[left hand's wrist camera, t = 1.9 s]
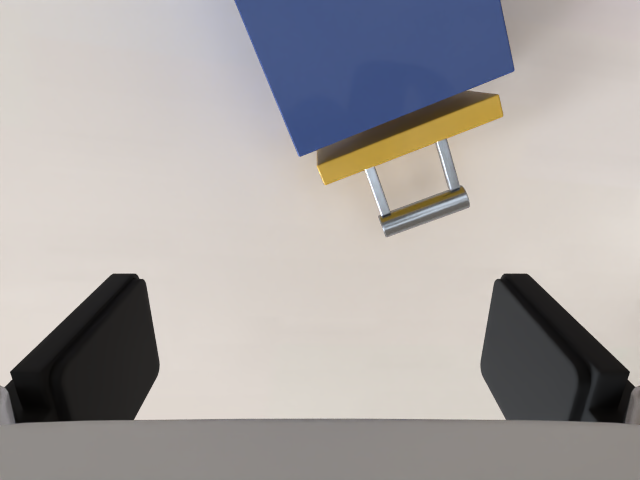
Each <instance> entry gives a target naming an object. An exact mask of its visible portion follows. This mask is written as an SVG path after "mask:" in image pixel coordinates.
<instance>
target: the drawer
mask: <svg viewBox="0 0 640 480" xmlns="http://www.w3.org/2000/svg"><path fill="white" fill-rule="evenodd" d="M501 117H503V111H502V107H501V102H500V98H499V95H498V94H491V93H482V92H473V91H464V92H461V93H459V94H456V95H454V96H451V97H449V98H446V99H444V100H441V101H439V102H436V103H434V104H431V105H429V106H426V107H424V108H421V109H419V110H416V111H414V112H411V113H409V114H406V115H404V116H401V117H399V118H396V119H393V120H391V121H388V122H386V123H383V124H381V125H378V126H376V127H373V128H371V129H368V130H366V131H363V132H361V133H358V134H356V135H353V136H351V137H348V138H346V139H343V140H341V141H338V142H336V143H333V144H331V145H328V146H326V147H323V148H321V149H318V150H317V168H318V171H319V173H320V176H321V178H322V181H323V183H324V185H327V184H330V183H332V182H335V181H338V180H340V179H343V178H345V177H348V176H351V175H353V174H356V173H358V172H361V171H364V170H365V171H366V174H367V177H368V180H369V183H370V185H371V188H372V191H373V194H374V197H375V199H376V202H377V205H378V208H379V211H380V213H381V215H379V216H378V217H379V220H380V223H381V226H382V228H383V231H384V234H385V236H386V237H389V236H392V235H395V234H397V233H400V232H403V231H406V230H408V229H411V228H414V227H417V226H420V225H422V224H425V223H428V222H431V221H433V220H436V219H439V218H442V217H444V216H447V215H450V214H453V213H456V212H458V211H461V210H464V209H467V208H469V207H470V203H469V198H468V195H467V193H466V191H465V189H464V188H463V186H461V185H459V182H458V178H457V174H456V171H455V167H454V164H453V160H452V156H451V153H450V149H449V146H448V142H447V138H449V137H452V136H454V135H457V134H459V133H462V132H465V131H467V130H470V129H472V128H475V127H478V126H480V125H483V124H485V123H488V122H490V121H493V120H496V119H498V118H501ZM433 143H435V144H436V147H437V151H438V154H439V158H440V161H441V164H442V168H443V171H444V175H445V178H446V182H447V185H448V188H449V190H447V191H444V192H441V193H438V194H436V195H433V196H430V197H428V198H425V199H422V200H419V201H417V202H414V203H411V204H409V205H406V206H403V207H400V208H398V209H395V210H392V211H390V209H389V207H388V204H387V201H386V198H385V195H384V192H383V189H382V186H381V184H380V181H379V178H378V175H377V172H376V169H375V166H376V165H379V164H382V163H384V162H387V161H389V160H392V159H395V158H397V157H400V156H402V155H405V154H408V153H410V152H413V151H415V150H418V149H421V148H423V147H426V146H428V145H431V144H433Z"/></svg>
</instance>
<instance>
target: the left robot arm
mask: <svg viewBox="0 0 640 480" xmlns="http://www.w3.org/2000/svg"><path fill="white" fill-rule="evenodd" d="M159 365H160V364H159V357H158V351H157V345H156V339H155V333H154V328H153V322H152V316H151V310H150V304H149V298H148V293H147V287H146V282H145V281H144V280H143V279H139V277H138V275H136V274H112V275H111V276H110V277H108V278H107V279H106V280H105V281H104V282H103V283H102V284H101V285H100V286H99V287H98V288H97V289H96V290H95V291H94V292H93V293H92V294H91V295H90V296H89V297H88V298H87V299H86V300H85V301H83V302H82V303H81V304H80V305H79V306H78V307H77V308H76V309H75V310H74V311H73V312H72V313H71V314H70V315H69V316H68V317H67V318H66V319H65V320H64V321H63V322H62V323H61V324H59V325H58V326H57V327H56V328H55V329H54V330H53V331H52V332H51V333H50V334H49V335H48V336H47V337H46V338H45V339H44V340H43V341H42V342H41V343H40V344H39V345H38V346H37V347H36V348H34V349H33V350H32V351H31V352H30V353H29V354H28V355H27V356H26V357H25V358H24V359H23V360H22V361H21V362H20V363H19V364H18V365H17V366H16V367H15V368H14V369H13V370H12V371H10V373H11V376H12V379H13V380H11V381H10V382H9V383H8V384H7V385H6V386H5V387H2V386H0V480H640V386H638V387H635V386H634V385H633V384H632V383H631V382H630V381H629V380H627V379H628V376H629V373H630V371H628V370H627V369H626V368H625V367H624V366H623V365H622V364H621V363H620V362H619V361H618V360H617V359H616V358H615V357H614V356H613V355H612V354H611V353H610V352H609V351H608V350H607V349H606V348H604V347H603V346H602V345H601V344H600V343H599V342H598V341H597V340H596V339H595V338H594V337H593V336H592V335H591V334H590V333H589V332H588V331H587V330H586V329H585V328H584V327H583V326H582V325H581V324H579V323H578V322H577V321H576V320H575V319H574V318H573V317H572V316H571V315H570V314H569V313H568V312H567V311H566V310H565V309H564V308H563V307H562V306H561V305H560V304H559V303H558V302H557V301H555V300H554V299H553V298H552V297H551V296H550V295H549V294H548V293H547V292H546V291H545V290H544V289H543V288H542V287H541V286H540V285H539V284H538V283H537V282H536V281H535V280H534V279H533V278H532V277H530V276H529V275H528V274H504V275H502V277H501V279H497V280H496V281H495V282H494V287H493V293H492V298H491V304H490V310H489V316H488V322H487V328H486V333H485V339H484V345H483V351H482V357H481V364H480V365H481V373H482V376H483V378H484V380H485V381H486V383H487V385H488V387H489V389H490V391H491V393H492V394H493V396H494V398H495V400H496V402H497V404H498V406H499V407H500V409H501V411H502V413H503V415H504V417H505V419H506V420H440V419H194V420H134V419H135V417H136V415H137V413H138V411H139V409H140V407H141V406H142V404H143V402H144V400H145V398H146V396H147V394H148V393H149V391H150V389H151V387H152V385H153V383H154V381H155V380H156V378H157V376H158V373H159Z"/></svg>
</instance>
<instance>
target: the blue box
mask: <svg viewBox="0 0 640 480" xmlns="http://www.w3.org/2000/svg"><path fill="white" fill-rule="evenodd" d="M234 1H235V3H236V5H237V8H238V10H239V13H240V15H241V18H242V20H243V22H244V25H245V27H246V30H247V32H248V35H249V37H250V39H251V42H252V44H253V47H254V49H255V52H256V54H257V56H258V59H259V61H260V64H261V66H262V69H263V71H264V73H265V76H266V78H267V81H268V83H269V86H270V88H271V90H272V93H273V95H274V98H275V100H276V103H277V105H278V107H279V110H280V112H281V115H282V117H283V120H284V122H285V124H286V127H287V129H288V132H289V134H290V137H291V139H292V141H293V144H294V146H295V149H296V151H297V154H298V156H299V157H301V156H303V155H306V154H308V153H311V152H313V151H316V150H318V149H321V148H323V147H326V146H328V145H331V144H333V143H336V142H338V141H341V140H343V139H346V138H348V137H351V136H353V135H356V134H358V133H361V132H363V131H366V130H368V129H371V128H373V127H376V126H378V125H381V124H383V123H386V122H388V121H391V120H393V119H396V118H399V117H401V116H404V115H406V114H409V113H411V112H414V111H416V110H419V109H421V108H424V107H426V106H429V105H431V104H434V103H436V102H439V101H441V100H444V99H446V98H449V97H451V96H454V95H456V94H459V93H461V92H464V91H466V90H469V89H471V88H474V87H476V86H479V85H481V84H484V83H486V82H489V81H491V80H494V79H496V78H499V77H501V76H504V75H506V74H509V73H511V72H513V71H514V65H513V60H512V55H511V51H510V46H509V41H508V36H507V31H506V26H505V21H504V17H503V12H502V7H501V2H500V0H234Z"/></svg>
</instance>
